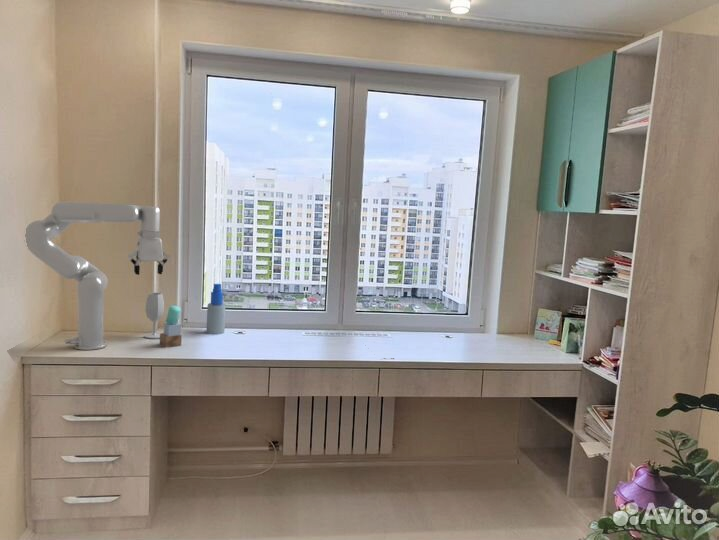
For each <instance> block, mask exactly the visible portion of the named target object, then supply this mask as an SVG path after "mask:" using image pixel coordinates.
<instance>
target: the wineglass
mask: <svg viewBox="0 0 719 540" xmlns="http://www.w3.org/2000/svg"><path fill="white" fill-rule="evenodd" d="M164 312H165V300H164V294H163V293H161V292H148V295H147V297H146V301H145V314H146V318H148V319H149V320H150V321H152V332H150V333H146V334H144V336H143V337H144V338H145V339H149V340H151V339H152V340H153V339H156V340H157V339H160V333H159V332H157V321H158V322H159V320H160V319H161V318H163V315H164Z"/></svg>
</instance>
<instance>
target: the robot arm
mask: <svg viewBox="0 0 719 540" xmlns="http://www.w3.org/2000/svg"><path fill="white" fill-rule="evenodd" d="M160 210H161V209H160V208H159V207H158V206H152V205H150V206H149V205H144V206H141V205H137V204H128V203H127V204H119V203H116V204H115V203H100V202H94V201H93V202H92V201H91V202H90V201H89V202H88V201H86V202H83V201H59V202H56V203H55V204H54V205H52V208H51V213H50V214H49V215H47V216H46V217H44V219H42V220H41V219H40V220H34V221H32V222H30V223H29V224H28V225H27V226H26V228H25V230H26V234H25V237H26V243H27V246H26V247H28V248H27V249H28V250H29V251H30V253H31V254H32V255H34V257H36V258H37V259H39V260H40V261H41V262H43V263H44V264H45V265H47V267H49V268H50V269H52V270H53V271H54V272H56V273H57V274H58V275H59V276H61V277H62V278H64V279H66V280H75V281H77V282H78V283H77V297H78V301H77V302H78V310H77V311H78V316H77V317H78V319H77V322H78V323H77V325H78V326H77V327H78V329H77V335H75V337H73V338H66V339H64V343H65V344H66V345H68V344H69V345H73V348H74V349H76V350H82V351H92V350H93V351H94V350H99V349H104V348H106V347H107V345H108V343H107V341H104V317H105V316H104V311H105V310H104V309H105V308H104V307H105V305H104V290H106V289H107V287H108V285H109V279H108V277H107V275H106V274H105V273H104V272H103V271H102V270H100V269H99V268H98V267H96V266H95V265H93V264H92V263H91V262H89V260H87V259H85V258H84V257H82V256H81V255H71V254H69V253H67V251H65V250H64V249H63V248H61V247H60V246H59V245H58V244H55V243H54V242H53V241H52V240H53V239H55V238H57V237H58V236H59V235H61V234H62V233H63V232H64V231H65V230H66V229H68V228H69V227H70V226H71V225H72V224H73V223H82V224H83V223H88V224H89V223H92V224H93V223H94V224H97V223H98V224H100V223H128V224H129V223H135V222H137V223H138V222H139V223H140V230H139V231H137V233H136V235H137V236H139V237H138V240H137V244H136V249H135V251H133V252H131V253H130V254H129V253H128V255H127V257H128V259H129V261H130V263H132V264H133V267H134V268H133V269H134V270H133V271H134V273H135V275H138V276H139V275H140V272H141V271H140V269H141V268H140V264H141V263H142V262H157V263H158V264H157V274H158V275H163V270H164V265H165V264H166V263H167V262H168V259H169V257H170V254H167V253H166V252H163V242H162V239H161V238H160V222H161V221H160V218H161V211H160ZM134 257H135V258H134ZM163 257H164V258H163Z"/></svg>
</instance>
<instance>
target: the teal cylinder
mask: <svg viewBox="0 0 719 540" xmlns="http://www.w3.org/2000/svg"><path fill="white" fill-rule="evenodd" d="M181 311H182V308H181V307H180V306H178V305H170V306H169V309H168V312H167V315H166V318H165V323H168V324H171V325H175V324H177V323H179V322H178V321H179V318H180V315H181Z"/></svg>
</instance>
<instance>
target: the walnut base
mask: <svg viewBox="0 0 719 540" xmlns="http://www.w3.org/2000/svg"><path fill="white" fill-rule="evenodd" d="M182 339H183V338H182V334H181V335H177V336H167V335H165V334H164V332H161V333H160V338H159V345H161V346H162V347H164V348H172V347H173V348H174V347H181V346H182Z"/></svg>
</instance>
